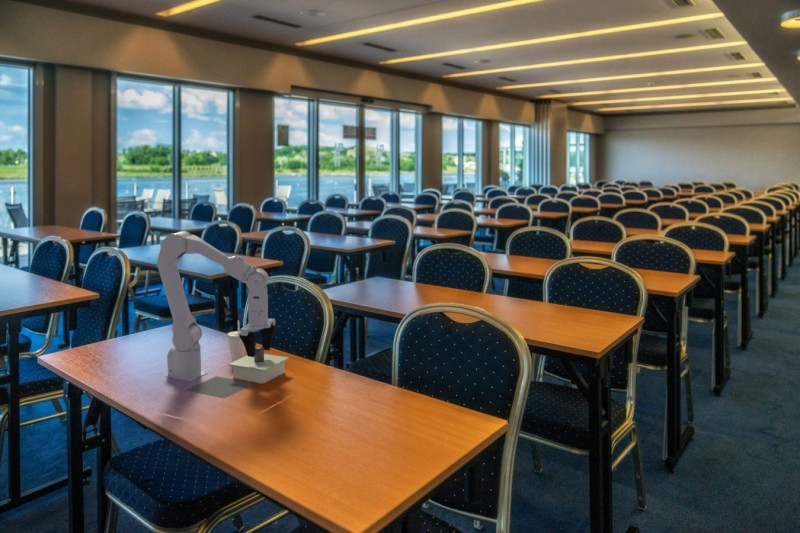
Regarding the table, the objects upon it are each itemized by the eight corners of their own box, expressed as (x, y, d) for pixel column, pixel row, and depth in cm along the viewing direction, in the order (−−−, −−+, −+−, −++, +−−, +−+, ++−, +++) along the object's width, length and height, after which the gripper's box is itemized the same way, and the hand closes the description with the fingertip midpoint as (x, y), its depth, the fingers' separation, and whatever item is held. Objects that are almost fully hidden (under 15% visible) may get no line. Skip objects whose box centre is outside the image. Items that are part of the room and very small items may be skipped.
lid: (228, 365, 179) (227, 351, 178) (253, 354, 191) (253, 340, 190) (265, 371, 174) (265, 356, 174) (288, 359, 186) (288, 345, 186)
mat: (185, 391, 170) (185, 389, 170) (216, 377, 182) (216, 376, 182) (224, 399, 165) (224, 398, 164) (253, 384, 176) (253, 383, 176)
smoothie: (242, 365, 193) (241, 323, 191) (224, 364, 195) (223, 322, 192) (251, 359, 199) (250, 319, 197) (233, 358, 201) (232, 317, 199)
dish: (232, 379, 181) (232, 365, 180) (255, 368, 190) (255, 355, 190) (262, 385, 176) (262, 370, 175) (284, 374, 186) (284, 360, 185)
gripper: (253, 316, 172) (254, 361, 174) (283, 306, 185) (283, 348, 187) (234, 313, 175) (235, 358, 177) (264, 303, 188) (265, 345, 190)
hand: (258, 353), depth 182 cm, fingers open, 7 cm apart
